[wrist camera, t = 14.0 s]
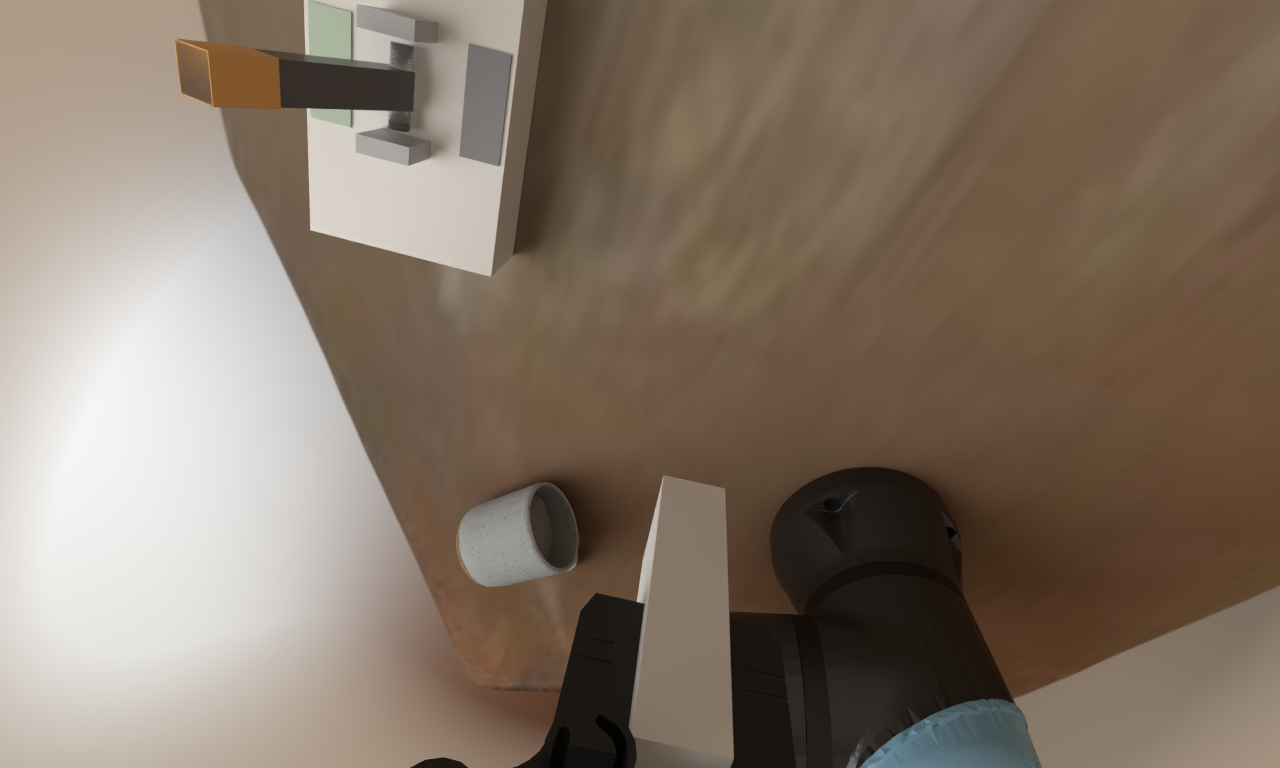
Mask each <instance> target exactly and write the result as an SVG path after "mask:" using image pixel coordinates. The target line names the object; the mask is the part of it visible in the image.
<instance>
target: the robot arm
mask: <svg viewBox="0 0 1280 768" xmlns="http://www.w3.org/2000/svg"><path fill="white" fill-rule="evenodd" d="M770 548H771V556H772V563H773V568H774V571H775V574H776V577H777V579H778V581H779V583H780V585H781V586H782V588H783V589H784V590H785V592H786V593H787V595H788V597H789V599H790V600H791V602H792V604H793V606H794V608H795V609H796V611H797V613H798V615H792V614H772V613H750V612H729V595H728V565H727V534H726V503H725V488H721V487H716V486H711V485H707V484H702V483H697V482H693V481H688V480H683V479H679V478H674V477H669V476H665V475H664V476H663V480H662V484H661V488H660V492H659V496H658V500H657V504H656V509H655V513H654V517H653V521H652V525H651V529H650V533H649V537H648V541H647V545H646V549H645V554H644V558H643V563H642V570H641V577H640V584H639V591H638V598H637V602H635V601H630V600H626V599H621V598H617V597H612V596H607V595H603V594H598V593H596V594H595V595H594V596H593V597H592V598H591V599H590V601H589V602H588V603H587V604H586V605H585V607H584V608H583V609H582V610H581V612H580V616H579V620H578V624H577V629H576V633H575V637H574V641H573V645H572V649H571V653H570V657H569V661H568V665H567V669H566V673H565V677H564V681H563V685H562V689H561V693H560V697H559V701H558V705H557V710H556V713H555V718H554V722H553V724H552V726H551V728H550V730H549V733H548V734H547V737H546V739H545V744H544V745H543V747H542V748H541V750H540V751H539V752H538V753H537V754H536V755H535V756H533V757H532V758H531V759H530V760H528V761H526V762H525V763H523V764H521V765H519V766H517V767H514V768H1042V767H1041V764H1040V762H1039V759H1038V756H1037V754H1036V751H1035V749H1034V746H1033V743H1032V741H1031V738H1030V736H1029V733H1028V730H1027V728H1028V726H1027V722H1026V719H1025V717H1024V715H1023V713H1022V711H1021V710H1020V709H1019V708H1018V707H1017V706H1016V704H1015V702H1014V700H1013V698H1012V696H1011V694H1010V692H1009V689H1008V687H1007V685H1006V683H1005V681H1004V679H1003V677H1002V675H1001V673H1000V671H999V669H998V667H997V664H996V662H995V660H994V658H993V656H992V654H991V652H990V650H989V648H988V646H987V644H986V641H985V639H984V637H983V635H982V633H981V631H980V629H979V627H978V625H977V623H976V621H975V619H974V616H973V614H972V612H971V610H970V609H969V606H968V604H967V602H966V600H965V598H964V595H963V591H962V552H961V540H960V536H959V532H958V529H957V526H956V524H955V522H954V520H953V518H952V516H951V514H950V512H949V510H948V509H947V507H946V505H945V503H944V502H943V500H942V499H941V498H940V497H939V496H938V494H937V493H936V492H935V491H933V490H932V489H931V488H930V487H929V486H927V485H926V484H924V483H923V482H921V481H919V480H917V479H915V478H913V477H911V476H909V475H906V474H903V473H900V472H896V471H892V470H886V469H877V468H858V469H849V470H844V471H839V472H835V473H832V474H829V475H826V476H823V477H821V478H818V479H816V480H814V481H812V482H810V483H808V484H807V485H805V486H804V487H802V488H801V489H799V490H798V491H797V492H795V493H794V494H793V495H792V496H791V497H790V498H789V499H788V500H787V501H786V502H785V503H784V504H783V506H782V507H781V509H780V510H779V512H778V513H777V515H776V517H775V519H774V522H773V525H772V528H771V533H770ZM411 768H468V767H466V766H465V765H464V764H463V763H462V762H459V761H456V760H452V759H448V758H436V759H428V760H424V761H422V762H420V763H418V764H416V765H415V766H413V767H411Z"/></svg>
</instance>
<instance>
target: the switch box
mask: <svg viewBox="0 0 1280 768" xmlns="http://www.w3.org/2000/svg"><path fill="white" fill-rule="evenodd" d="M547 1H548V0H304V18H305V53H306V55H314V56H323V57H332V58H340V59H349V60H358V61H367V62H376V63H385V64H390V41H395V42H400V43H405V44H409V45H412V46H414V62H413V72H414V73H415V87H414V107H413V112H411V125H410V132H400V131H395V130H392V129H389V128H388V111H375V110H342V109H310V108H307V123H308V158H309V193H310V229H311V230H312V231H316V232H320V233H324V234H328V235H332V236H335V237H339V238H343V239H347V240H351V241H355V242H359V243H362V244H366V245H370V246H374V247H378V248H382V249H386V250H389V251H393V252H397V253H401V254H405V255H409V256H413V257H416V258H420V259H424V260H428V261H432V262H436V263H440V264H443V265H447V266H451V267H455V268H459V269H463V270H467V271H470V272H474V273H478V274H482V275H486V276H490V277H491V276H492V275H493V274H494V273H495V272H496V271H497V270H498V269H499V268H500V267H501V266H502V265H503V264H504V263H505V262H506V261H508V260H509V259H510V258H511V257H512V256H513V250H514V243H515V236H516V228H517V221H518V214H519V206H520V199H521V192H522V184H523V177H524V170H525V162H526V155H527V148H528V140H529V133H530V125H531V118H532V111H533V103H534V96H535V89H536V81H537V74H538V67H539V59H540V52H541V45H542V37H543V30H544V23H545V15H546V8H547Z"/></svg>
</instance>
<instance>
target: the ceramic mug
mask: <svg viewBox="0 0 1280 768" xmlns="http://www.w3.org/2000/svg"><path fill="white" fill-rule="evenodd" d="M578 544H579V537H578V529H577V523H576V519H575V515H574V512H573V510H572V507H571V505H570V503H569V502H568V500H567V498H566V496H565V495H564V494H563V492H562V491H561V490H560V489H559V488H558V487H557V486H555V485H554V484H552V483H549V482H540V483H537V484H534V485H531V486H528V487H526V488H523V489H520V490H518V491H515V492H512V493H509V494H507V495H504V496H501V497H499V498H495V499H492V500H489V501H486V502H484V503H482V504H480V505H478V506H476V507H474V508H473V509H471V510H470V511H468V512H467V513H466V514H465V515H464V517H463V518H462V520H461V522H460V524H459V526H458V531H457V536H456V546H457V553H458V557H459V560H460V563H461V565H462V567H463V569H464V571H465V572H466V574H467V575H468V576H469V577H470V578H471V579H472V580H473V581H474V582H476V583H477V584H479V585H482V586H488V587H495V586H506V585H511V584H514V583H518V582H522V581H527V580H532V579H537V578H542V577H547V576H551V575H556V574H560V573H564V572H567V571H569V570H572V569H573V568H575V566H576V564H577V561H578Z"/></svg>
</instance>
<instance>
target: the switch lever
mask: <svg viewBox="0 0 1280 768" xmlns="http://www.w3.org/2000/svg"><path fill="white" fill-rule="evenodd" d="M174 41H175V50H176V58H177V67H178V74H179V83H180V91H181V94H182V95H185V96H187V97H190V98H192V99H195V100H197V101H199V102H202V103H204V104H207V105H209V106H212V107H226V108H261V109H281V108H310V109H342V110H375V111H388V128H389V129H392V130H395V131H400V132H410V125H411V112H413V107H414V87H415V73H414V72H413V62H414V46H412V45H409V44H405V43H400V42H395V41H390V64H385V63H376V62H367V61H358V60H349V59H340V58H332V57H323V56H314V55H305V54H296V53H287V52H278V51H269V50H260V49H252V48H249V47H245V46H237V45H228V44H219V43H210V42H200V41H192V40H183V39H174Z"/></svg>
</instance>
